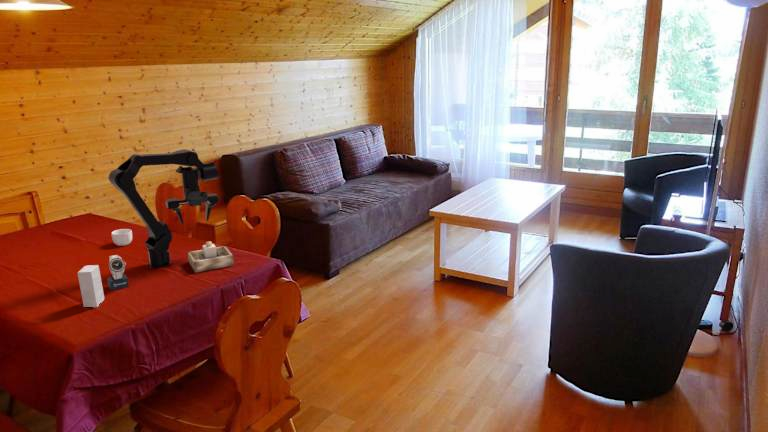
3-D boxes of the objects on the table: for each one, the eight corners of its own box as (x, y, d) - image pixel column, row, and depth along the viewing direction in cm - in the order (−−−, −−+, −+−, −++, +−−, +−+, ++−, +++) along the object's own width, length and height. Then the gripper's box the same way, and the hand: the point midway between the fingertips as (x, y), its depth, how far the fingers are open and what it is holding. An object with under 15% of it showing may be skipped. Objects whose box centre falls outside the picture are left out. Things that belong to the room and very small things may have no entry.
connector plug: (206, 263, 208) (204, 244, 206) (204, 260, 211) (202, 241, 209) (217, 262, 210) (215, 242, 207) (215, 258, 213) (213, 239, 211)
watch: (112, 292, 186) (107, 261, 183) (107, 285, 192) (102, 254, 189) (130, 288, 189) (126, 257, 186) (124, 281, 196) (120, 251, 192)
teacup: (136, 243, 234) (135, 231, 232) (118, 248, 229) (116, 235, 227) (126, 238, 240) (124, 226, 239) (107, 243, 235) (105, 230, 234)
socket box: (195, 272, 202) (193, 262, 201) (188, 262, 212) (187, 252, 211) (233, 265, 209) (233, 255, 208) (226, 255, 219) (225, 245, 218)
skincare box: (91, 300, 181) (85, 265, 177) (104, 299, 181) (99, 264, 178) (83, 308, 175) (76, 272, 171) (97, 307, 175) (91, 271, 172)
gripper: (168, 190, 202) (173, 232, 206) (220, 184, 210) (224, 224, 214) (163, 184, 211) (168, 224, 215) (214, 178, 219) (217, 217, 224)
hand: (195, 222), depth 217 cm, fingers open, 9 cm apart
